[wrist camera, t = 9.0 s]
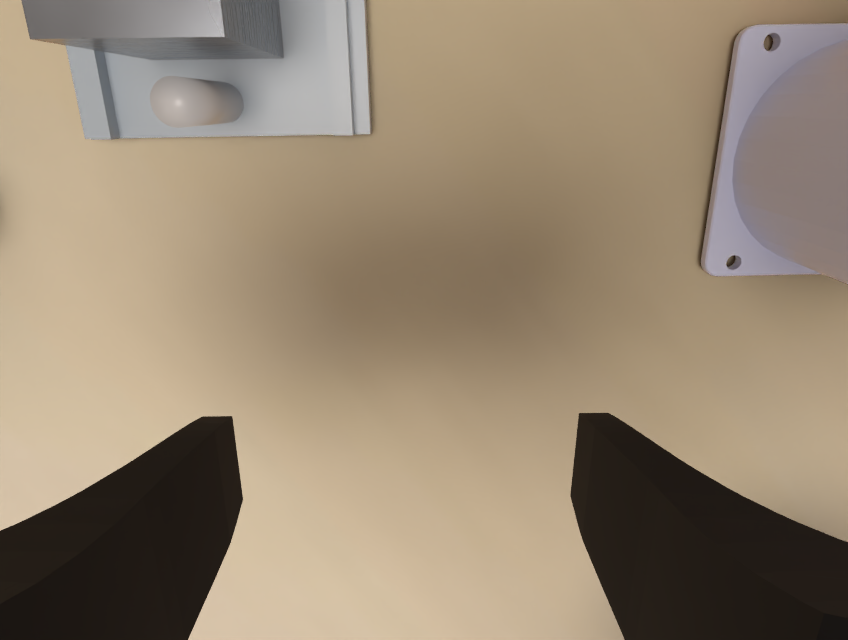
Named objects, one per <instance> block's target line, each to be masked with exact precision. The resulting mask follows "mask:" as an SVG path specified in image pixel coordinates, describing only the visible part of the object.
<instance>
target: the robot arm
mask: <svg viewBox="0 0 848 640" xmlns="http://www.w3.org/2000/svg"><path fill="white" fill-rule="evenodd" d="M767 35H771V37H772V38H773V45H772V48H771V49H770V50H769V51H766V49H765V48H764V44H763V42H764V40H765V37H766V36H767ZM733 255H735V258H736V260H735V262H734V264H733V265H731V266H729V267H727V265H726V262H727V260H728V258H730V257H731V256H733ZM701 266H702V268H703V270H704V271H705V272H707V273H708V274H710V275H713V276H752V275H803V274H824V275H826V276H829V277H831V278H834V279H836V280H838V281H841V282H843V283H846V284H848V23H832V24H763V25H754V26H750V27H746V28H745V29H743V30H742V31H740V33H739V34H738V35H737V37H736V39H735V42H734V47H733V54H732V60H731V67H730V73H729V80H728V87H727V93H726V100H725V106H724V113H723V119H722V126H721V132H720V139H719V145H718V152H717V158H716V165H715V172H714V178H713V185H712V191H711V198H710V204H709V211H708V217H707V224H706V230H705V237H704V244H703V250H702V257H701ZM571 499H572V503H573V507H574V511H575V515H576V519H577V522H578V526H579V529H580V533H581V536H582V539H583V542H584V544H585V547H586V549H587V552H588V554H589V556H590V559H591V561H592V564H593V566H594V568H595V571H596V573H597V576H598V578H599V580H600V583H601V585H602V587H603V590H604V592H605V594H606V597H607V599H608V601H609V604H610V606H611V608H612V611H613V613H614V615H615V618H616V620H617V622H618V625H619V627H620V629H621V632H622V634H623V636H624V639H625V640H848V542H845V541H842V540H840V539H837V538H835V537H832V536H830V535H827V534H825V533H822V532H820V531H818V530H815V529H813V528H810V527H808V526H805V525H803V524H800V523H798V522H796V521H794V520H791V519H789V518H787V517H785V516H782V515H780V514H778V513H776V512H774V511H772V510H770V509H768V508H766V507H764V506H762V505H760V504H758V503H756V502H753V501H751V500H749V499H747V498H745V497H743V496H741V495H740V494H738V493H736V492H734V491H732V490H730V489H728V488H727V487H725V486H723V485H721V484H720V483H718V482H716V481H715V480H713V479H711V478H709V477H708V476H706V475H704V474H703V473H701V472H699V471H697V470H696V469H694V468H693V467H691V466H689V465H688V464H686V463H685V462H683V461H681V460H680V459H678V458H677V457H675V456H674V455H672V454H671V453H669V452H668V451H666V450H665V449H663V448H662V447H660V446H659V445H657V444H656V443H654V442H653V441H651V440H650V439H648V438H647V437H645V436H644V435H642V434H641V433H639V432H638V431H636V430H635V429H633V428H632V427H630V426H629V425H627V424H626V423H624V422H623V421H621V420H620V419H618V418H616V417H615V416H613V415H611V414H609V413H579V419H578V429H577V438H576V448H575V458H574V467H573V477H572V487H571ZM242 501H243V497H242V489H241V481H240V473H239V466H238V458H237V450H236V442H235V435H234V427H233V419H232V416H220V417H201V418H199V419H197V420H195V421H194V422H192V423H190V424H188V425H187V426H185V427H184V428H182V429H181V430H179V431H177V432H176V433H174V434H173V435H171V436H170V437H168V438H167V439H165V440H164V441H162V442H161V443H159V444H157V445H156V446H154V447H153V448H151V449H150V450H148V451H147V452H145V453H144V454H142V455H141V456H139V457H137V458H136V459H134V460H133V461H131V462H130V463H128V464H126V465H125V466H123V467H121V468H120V469H118V470H116V471H115V472H113V473H111V474H110V475H108V476H106V477H105V478H103V479H101V480H100V481H98V482H96V483H95V484H93V485H91V486H90V487H88V488H86V489H84V490H83V491H81V492H79V493H77V494H75V495H74V496H72V497H70V498H68V499H66V500H64V501H62V502H60V503H59V504H57V505H55V506H53V507H51V508H49V509H47V510H45V511H42V512H40V513H38V514H36V515H34V516H32V517H30V518H28V519H26V520H24V521H22V522H20V523H17V524H15V525H13V526H11V527H8V528H6V529H3V530H1V531H0V640H188V638H189V636H190V634H191V631H192V629H193V627H194V625H195V622H196V620H197V618H198V616H199V613H200V611H201V609H202V607H203V604H204V602H205V600H206V598H207V595H208V593H209V591H210V589H211V587H212V584H213V582H214V580H215V578H216V575H217V573H218V571H219V568H220V566H221V564H222V561H223V559H224V557H225V555H226V552H227V550H228V547H229V545H230V543H231V539H232V536H233V533H234V529H235V526H236V523H237V519H238V515H239V512H240V508H241V504H242Z"/></svg>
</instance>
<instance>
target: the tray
mask: <svg viewBox="0 0 848 640" xmlns="http://www.w3.org/2000/svg"><path fill="white" fill-rule="evenodd" d="M279 6H280V17H281V29H282V40H283V52H284V58H283V59H200V60H148V59H143V58H137V57H131V56H125V55H119V54H114V53H108V52H102V51H96V50H90V49H85V48H79V47H73V46H67V45H66V49H67V54H68V58H69V63H70V68H71V73H72V78H73V83H74V87H75V92H76V97H77V102H78V107H79V112H80V117H81V121H82V126H83V131H84V136H85V139H91V140H99V139H118V138H166V137H226V136H286V135H333V136H339V135H354V134H371V133H372V123H371V100H370V78H369V55H368V32H367V9H366V0H279Z"/></svg>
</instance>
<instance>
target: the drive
mask: <svg viewBox="0 0 848 640" xmlns="http://www.w3.org/2000/svg"><path fill="white" fill-rule="evenodd" d="M22 5H23V9H24V14H25V18H26V23H27V27H28V32H29V36H30V39H32V40H38V41H44V42H50V43H56V44H61V45H67V46H73V47H79V48H85V49H90V50H96V51H102V52H108V53H114V54H119V55H125V56H131V57H137V58H143V59H148V60H200V59H283V58H284V52H283V40H282V29H281V17H280V6H279V0H22Z"/></svg>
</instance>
